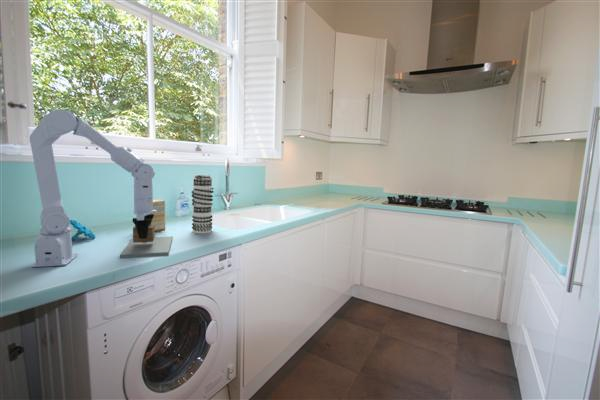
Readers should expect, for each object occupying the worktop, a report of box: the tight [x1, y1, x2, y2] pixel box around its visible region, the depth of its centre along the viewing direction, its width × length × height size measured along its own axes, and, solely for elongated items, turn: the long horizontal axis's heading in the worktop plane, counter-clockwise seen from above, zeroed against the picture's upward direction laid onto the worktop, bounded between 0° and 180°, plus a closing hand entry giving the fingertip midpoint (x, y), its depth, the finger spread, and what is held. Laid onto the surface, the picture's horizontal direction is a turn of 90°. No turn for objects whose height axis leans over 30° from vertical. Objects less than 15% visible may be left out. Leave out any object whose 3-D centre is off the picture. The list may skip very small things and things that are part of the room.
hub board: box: [119, 235, 173, 259], centre depth 103 cm, size 20×14×5 cm
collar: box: [132, 224, 156, 242], centre depth 102 cm, size 5×6×5 cm
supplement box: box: [151, 199, 166, 232], centre depth 125 cm, size 8×5×13 cm, turn 149°
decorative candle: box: [191, 174, 214, 234], centre depth 128 cm, size 9×9×25 cm
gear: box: [69, 219, 96, 241], centre depth 108 cm, size 11×6×10 cm
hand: (144, 236), depth 102 cm, fingers closed on collar, 5 cm apart
